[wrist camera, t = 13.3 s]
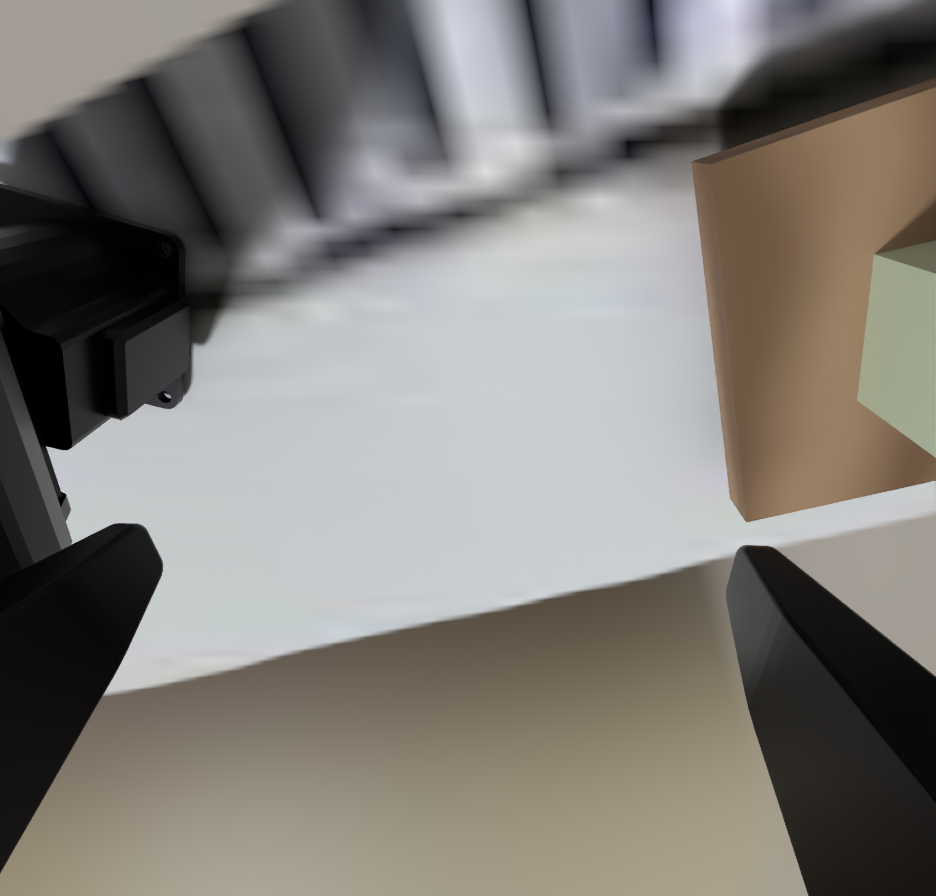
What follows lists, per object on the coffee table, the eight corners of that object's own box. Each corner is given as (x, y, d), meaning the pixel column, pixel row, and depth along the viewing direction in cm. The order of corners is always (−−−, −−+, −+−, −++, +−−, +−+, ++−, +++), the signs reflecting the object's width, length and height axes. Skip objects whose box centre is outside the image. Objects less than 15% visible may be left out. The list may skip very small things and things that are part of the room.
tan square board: (716, 476, 22) (746, 522, 19) (675, 159, 16) (710, 164, 14) (1055, 395, 20) (1140, 435, 17) (1142, -4, 14) (1288, -34, 12)
